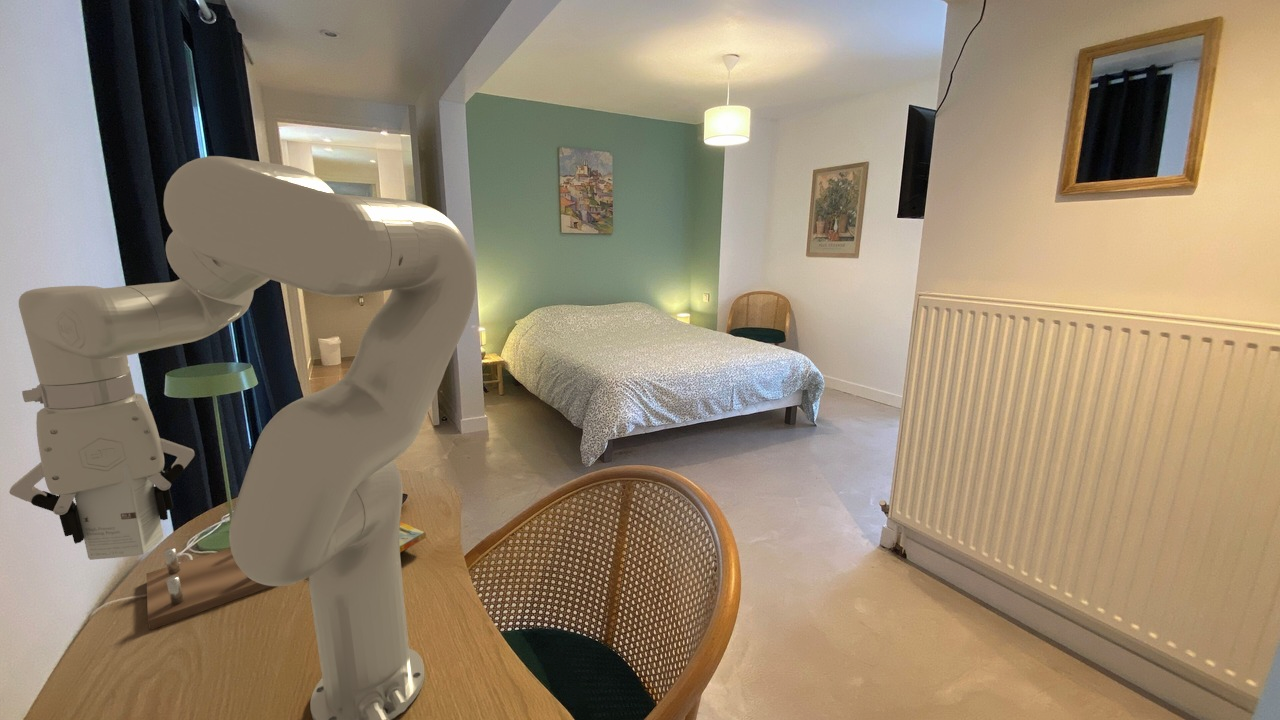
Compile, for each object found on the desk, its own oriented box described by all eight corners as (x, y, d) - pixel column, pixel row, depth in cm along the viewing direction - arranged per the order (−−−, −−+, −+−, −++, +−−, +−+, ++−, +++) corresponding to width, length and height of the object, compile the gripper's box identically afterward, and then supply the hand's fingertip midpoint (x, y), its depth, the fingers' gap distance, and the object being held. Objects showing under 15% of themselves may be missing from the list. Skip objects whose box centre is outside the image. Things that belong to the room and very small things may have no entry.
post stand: (283, 582, 86) (278, 552, 85) (149, 629, 75) (142, 596, 74) (268, 544, 96) (263, 516, 95) (148, 581, 85) (141, 551, 84)
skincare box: (87, 562, 65) (62, 470, 62) (113, 541, 69) (90, 455, 67) (146, 555, 67) (124, 465, 64) (168, 535, 71) (148, 451, 68)
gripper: (-32, 416, 55) (14, 568, 59) (187, 385, 66) (213, 514, 70) (-17, 399, 60) (25, 540, 64) (184, 373, 71) (208, 494, 76)
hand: (123, 525), depth 67 cm, fingers closed on skincare box, 7 cm apart
